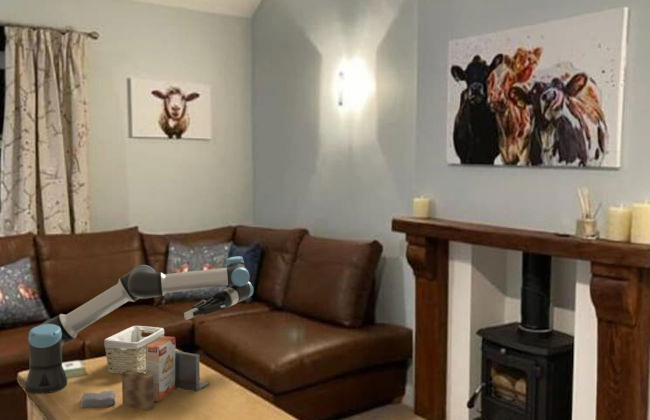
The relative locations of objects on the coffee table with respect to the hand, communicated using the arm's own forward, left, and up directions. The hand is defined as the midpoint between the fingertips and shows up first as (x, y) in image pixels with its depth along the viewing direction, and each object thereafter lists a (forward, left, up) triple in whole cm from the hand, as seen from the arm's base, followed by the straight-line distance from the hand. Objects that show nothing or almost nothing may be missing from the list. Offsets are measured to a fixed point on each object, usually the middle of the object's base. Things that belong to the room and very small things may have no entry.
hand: (185, 316), depth 251 cm
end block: (-1, -26, -28) cm, 38 cm away
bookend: (+2, -1, -28) cm, 28 cm away
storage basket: (-33, +8, -28) cm, 44 cm away
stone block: (-17, -30, -28) cm, 44 cm away
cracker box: (-1, -13, -28) cm, 31 cm away
